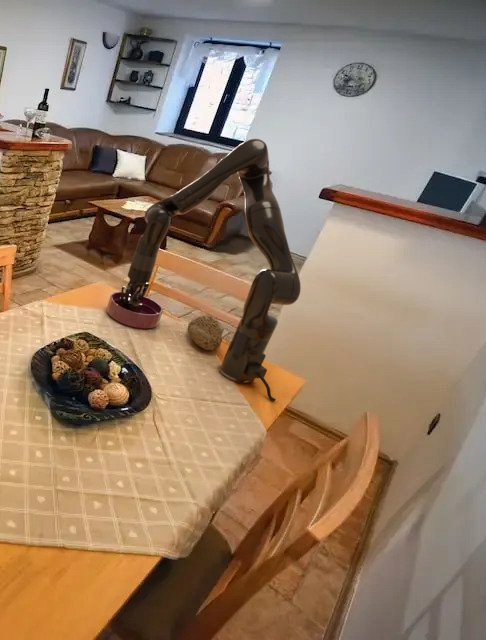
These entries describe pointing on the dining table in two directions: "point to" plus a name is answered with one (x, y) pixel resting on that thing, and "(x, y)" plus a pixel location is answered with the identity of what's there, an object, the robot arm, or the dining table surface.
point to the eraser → (132, 305)
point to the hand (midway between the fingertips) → (127, 311)
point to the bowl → (144, 319)
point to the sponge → (206, 332)
